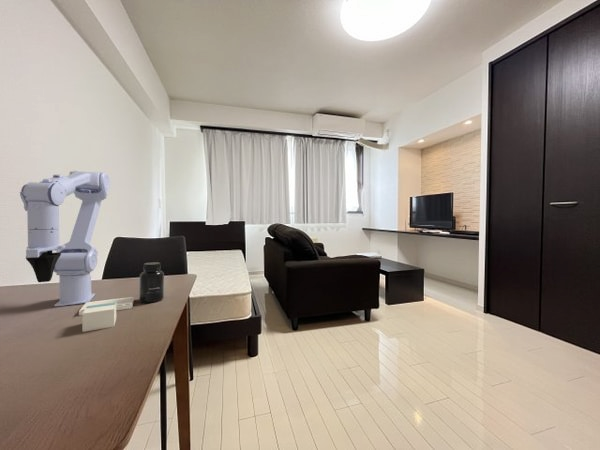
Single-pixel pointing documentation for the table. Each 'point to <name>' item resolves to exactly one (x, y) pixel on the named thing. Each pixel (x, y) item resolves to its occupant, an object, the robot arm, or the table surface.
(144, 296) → the supplement bottle
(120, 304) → the ticket
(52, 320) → the table surface
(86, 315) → the teal striped cube
